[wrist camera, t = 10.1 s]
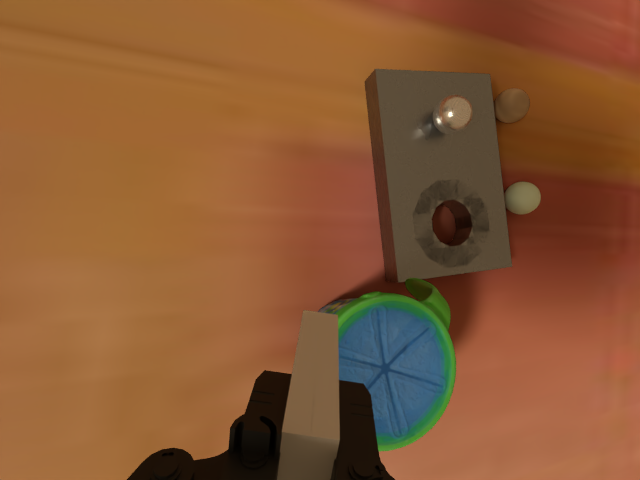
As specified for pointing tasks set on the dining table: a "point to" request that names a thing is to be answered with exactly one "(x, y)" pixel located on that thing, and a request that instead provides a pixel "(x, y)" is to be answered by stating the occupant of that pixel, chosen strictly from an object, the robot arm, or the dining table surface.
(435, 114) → the steel ball
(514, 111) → the cork ball
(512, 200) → the pale green ball
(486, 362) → the dining table surface
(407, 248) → the plate
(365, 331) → the snack cup
